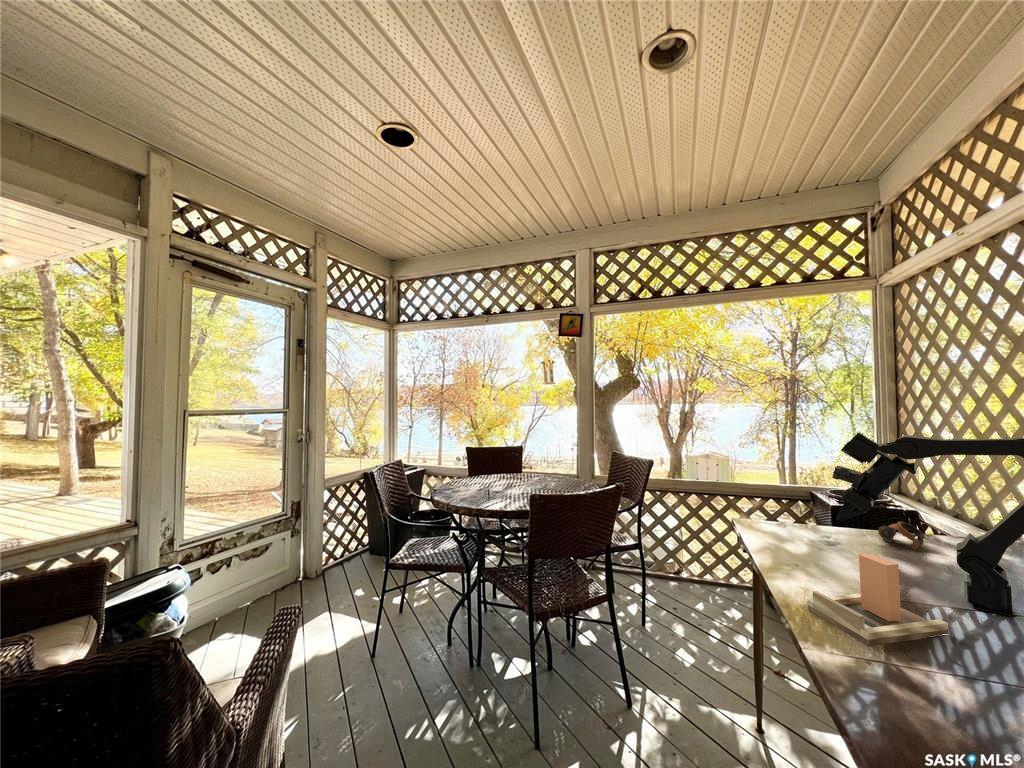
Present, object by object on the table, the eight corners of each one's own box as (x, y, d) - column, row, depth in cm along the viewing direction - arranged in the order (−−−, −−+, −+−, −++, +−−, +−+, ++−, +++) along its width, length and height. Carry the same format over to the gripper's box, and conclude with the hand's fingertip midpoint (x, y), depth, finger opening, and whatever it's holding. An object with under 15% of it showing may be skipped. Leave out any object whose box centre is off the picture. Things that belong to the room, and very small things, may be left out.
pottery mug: (897, 539, 140) (912, 521, 137) (920, 561, 132) (936, 543, 128) (864, 531, 140) (878, 513, 137) (885, 553, 131) (901, 534, 128)
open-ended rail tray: (878, 601, 98) (877, 581, 98) (948, 635, 84) (947, 610, 84) (807, 609, 95) (806, 588, 95) (868, 645, 81) (867, 620, 82)
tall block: (872, 606, 93) (869, 553, 94) (901, 620, 87) (898, 564, 88) (861, 607, 93) (858, 554, 93) (889, 621, 87) (886, 565, 87)
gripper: (854, 452, 120) (819, 490, 126) (842, 459, 107) (804, 502, 114) (898, 477, 113) (858, 517, 119) (890, 488, 100) (846, 532, 107)
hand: (841, 516), depth 115 cm, fingers open, 9 cm apart
